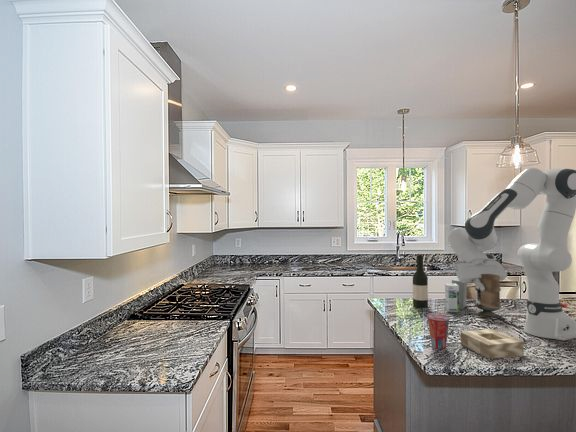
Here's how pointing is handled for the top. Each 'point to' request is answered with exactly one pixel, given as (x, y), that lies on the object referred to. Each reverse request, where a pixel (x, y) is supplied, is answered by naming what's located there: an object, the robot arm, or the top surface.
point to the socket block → (492, 343)
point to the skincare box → (461, 292)
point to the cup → (438, 330)
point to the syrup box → (452, 297)
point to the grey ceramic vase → (486, 310)
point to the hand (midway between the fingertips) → (491, 289)
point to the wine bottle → (420, 285)
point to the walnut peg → (490, 290)
